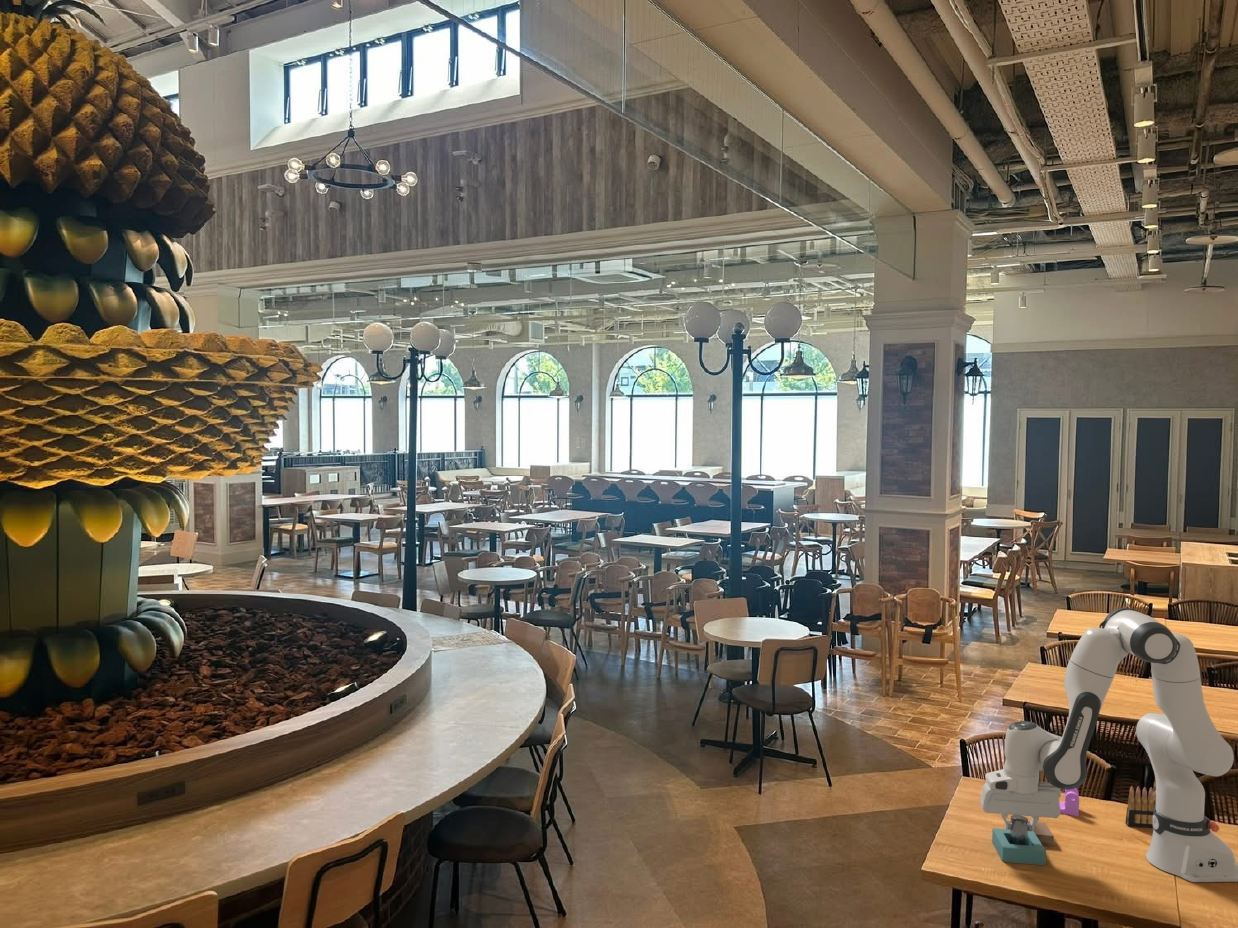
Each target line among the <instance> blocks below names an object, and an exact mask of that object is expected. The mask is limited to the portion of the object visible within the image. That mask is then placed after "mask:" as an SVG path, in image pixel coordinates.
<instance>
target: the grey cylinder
mask: <svg viewBox="0 0 1238 928" xmlns="http://www.w3.org/2000/svg"><path fill="white" fill-rule="evenodd" d="M1028 821H1029V819H1028V818H1027V816H1022V815H1010V822H1011V824H1012V827H1011V828H1012V829H1011V830H1010V829H1009V830H1010V844H1016V845H1027V840H1028Z"/></svg>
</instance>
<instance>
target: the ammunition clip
mask: <svg viewBox="0 0 1238 928" xmlns="http://www.w3.org/2000/svg"><path fill="white" fill-rule="evenodd" d="M1141 794H1142V795H1141ZM1155 806H1156V790H1155V792H1154V790H1153V787H1152V786H1151V787H1150V788H1149V791H1147V788H1146V786H1144V787H1143V789H1142V793H1141V788H1140V786H1138V785H1137V788H1136V790H1135V791H1134V787H1133V785H1131V786H1130V787H1129V794H1128V799H1127V807H1126V815H1125V825H1126V826H1127V827H1128V828H1141V829H1144V828H1145V829H1153V811H1154V807H1155Z"/></svg>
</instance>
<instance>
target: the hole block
mask: <svg viewBox="0 0 1238 928" xmlns="http://www.w3.org/2000/svg"><path fill="white" fill-rule="evenodd" d="M991 843H992V845H993V847H994V849H995V850H996V853H997V854H998V856H999V859H1000V860H1001V862H1003V863H1004V862H1005V863H1014V864H1026V865H1037V866H1046V861H1047V860H1046V857H1047V851H1046V849H1045V847H1044V845H1042V844H1041V842H1040V841H1039V839H1038V838H1037V836H1036V834H1035V833H1034V832H1033V831H1028V840H1027V845H1016V844H1010V829H1005V828H996V827H995V828H994V827H993V828H992V834H991Z"/></svg>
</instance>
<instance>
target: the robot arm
mask: <svg viewBox="0 0 1238 928" xmlns="http://www.w3.org/2000/svg"><path fill="white" fill-rule="evenodd" d="M1129 654H1130V655H1132V656H1134V657H1136V658H1137V659H1139V660H1140V661H1143V662H1147V663H1150V666H1151V667H1150V669H1151V681H1152V689H1153V698H1154V702H1155V704H1156V705H1157V707H1158V708H1159V709H1160V711H1161V712H1162V713H1163V714H1162V713H1157V712H1156V713H1155V712H1148V713H1145V714H1144V715H1143V716H1142V717H1141V718H1139V720H1138V722H1137V723H1136V729H1135V734H1136V737H1137V740H1138V742H1139V743H1140V744H1141V745H1142V747H1143V748H1144V749H1145V751H1146V754H1147V756H1148V757H1149V760H1150V763H1151V766H1152V770H1153V773H1154V777H1155V778H1154V780H1155V791H1156V806H1155V807H1154V811H1153V828H1152V834H1151V835H1152V836H1151V841H1150V844H1149V848H1148V850H1147V851H1146V855H1145V857H1146V859H1147V862H1149V863H1150V864H1151V865H1153V866H1154V867H1156V868H1158V869H1159V870H1161V871H1164V872H1167V873H1169V874H1172V875H1175V876H1177V877H1180V878H1182V879H1184V880H1186V881H1188V882H1191V883H1217V882H1218V883H1220V882H1221V883H1223V882H1225V883H1228V882H1230V883H1231V882H1233V883H1238V863H1237V861H1236V858H1235V853H1234V852H1233V850H1232V849H1231V847H1230V846H1229V845H1228V844H1227V843H1226V842H1225V841H1223V839H1221V838H1220V837H1219V836H1218V835H1216V834H1215V833H1217V832H1218V831H1220V826H1219V825H1218V824H1216V822H1215V821H1212V820H1211V819H1210V818H1208V817H1207V816H1206V815H1205V804H1206V803H1205V802H1206V799H1205V798H1206V790H1205V788H1204V786H1203V784H1202V783H1201V782H1200V780H1199V779H1198V777H1197V775H1196V774H1195V773H1200V774H1202V775H1207V776H1212V777H1220V776H1223V775H1225V774H1227V773H1228V771H1229V770H1231V768H1232V766H1233V764H1234V760H1235V759H1234V758H1235V757H1234V756H1235V755H1234V751H1233V748H1232V746H1231V745H1230V744H1229V743H1228V742H1227V741H1226V740H1225V739H1224V737H1223V736H1222V735H1221V734H1220V733H1219V731H1218V729H1217V728H1216V726H1215V725H1214V723H1213V720H1212V719H1211V717H1210V715H1209V712H1208V710H1207V708H1206V704H1205V701H1204V696H1203V695H1204V694H1203V688H1202V687H1203V685H1202V680H1201V678H1202V677H1201V670H1200V664H1199V660H1198V655H1197V651H1196V649H1195V646H1194V643H1193V641H1192V640H1191V639H1190V638H1189V637H1187V636H1186V635H1183V634H1180V633H1175V632H1172V631H1171V629H1169V627H1167V626H1166V625H1164V624H1162V623H1161V622H1159V621H1158V620H1156V618H1154V617H1151V616H1150V615H1148V614H1144V613H1143V612H1140V611H1138V610H1137V609H1134V608H1130V607H1118V608H1115V609H1114V610H1112V611H1110V613H1108V614H1107V615H1106V617H1105V618H1104V619H1103V621H1102V622H1101V623H1100V624H1099V627H1091V628H1087V629H1086V630H1085V631H1084V633H1083V634H1082V636H1081V637H1080V639H1079V640H1078V642H1077V643H1076V645H1075V647H1074V648H1073V651H1072V653H1071V656H1070V658H1069V660H1068V663H1067V666H1066V669H1065V674H1064V679H1063V680H1064V682H1063V685H1064V690H1065V692H1066V696H1067V701H1068V717H1067V721H1066V725H1065V726H1064V730H1063V733H1062V736H1061V735H1059V734H1058V735H1057V734H1054V733H1051V732H1049V731H1047V730H1045V729H1043V728H1042V727H1040V726H1039V725H1038V724H1037V723H1035V722H1033V721H1028V720H1019V721H1014V722H1013V723H1011V724H1009V726H1008V727H1007V730H1006V733H1005V738H1004V739H1005V740H1004V749H1003V750H1004V757H1005V761H1004V763H1003V764H1004V765H1003V768H1001V769H999V770H995V771H991V772H987V773H985V781H986V782H985V783H984V784H983V785H982V787H981V791H980V792H981V793H980V801H979V803H980V804H979V805H980V807H981V809H982V810H983V812H984V813H987V814H995V815H996V814H997V815H999V814H1000V815H1001V818H1002V820H1003V821H1004V824H1003V825H1004V829H1008V830H1011V829H1012V828H1011V827H1012V824H1011V820H1007V818H1009V817H1008V816H1009V815H1010V816H1012V815H1021V816H1024V817H1031V820H1029V821H1030V823H1028V831H1034V826H1035V825H1036V823H1037V822H1040V821H1039V820H1040V818H1051V819H1058V818H1059V817H1060V816H1061V813H1060V802H1061V801H1060V798H1061V797H1062V790H1064V791H1065V790H1070V789H1075V788H1076V789H1078V788H1079V787H1080V786H1082V785H1083V783H1084V782H1085V781H1086V778H1087V774H1088V773H1087V772H1088V771H1087V769H1088V768H1087V764H1086V763H1087V762H1086V760H1087V753H1088V750H1089V746H1090V744H1091V740H1092V739H1093V738H1092V737H1093V734H1094V731H1095V728H1096V725H1097V722H1098V717H1099V714H1100V712H1101V710H1102V707H1103V703H1104V701H1105V700H1106V697H1107V695H1108V692H1109V689H1110V688H1111V685H1112V684H1113V680H1114V677H1115V676H1116V673H1117V670H1118V666H1119V664H1120V663H1121V662H1122V661H1123V659H1124V658H1126V657H1127V656H1128V655H1129ZM1041 771H1043V774H1044V777H1045V779H1046V780H1047V782H1045V781H1039V780H1040V772H1041ZM1194 772H1195V773H1194Z"/></svg>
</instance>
